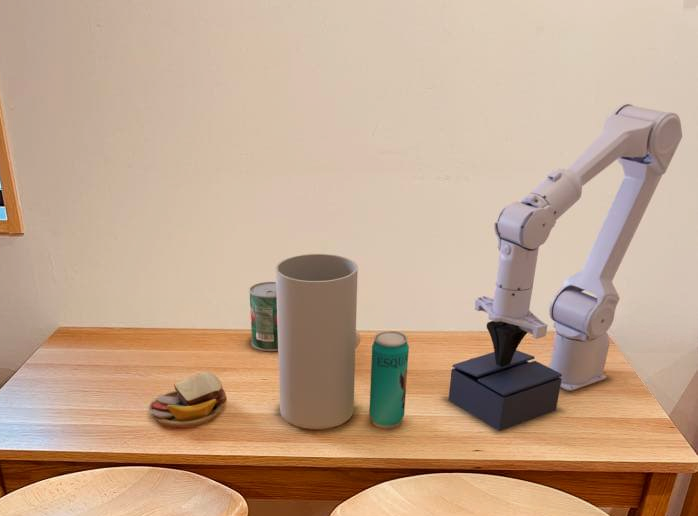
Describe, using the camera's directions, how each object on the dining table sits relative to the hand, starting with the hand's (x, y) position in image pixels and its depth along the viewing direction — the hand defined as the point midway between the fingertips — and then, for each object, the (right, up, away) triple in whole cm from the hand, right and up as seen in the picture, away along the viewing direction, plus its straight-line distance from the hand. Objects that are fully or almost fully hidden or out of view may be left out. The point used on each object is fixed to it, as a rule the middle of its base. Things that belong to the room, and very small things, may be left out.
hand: (502, 363), depth 141 cm
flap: (-1, +1, +2) cm, 2 cm away
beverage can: (-20, -10, 0) cm, 22 cm away
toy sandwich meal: (-53, -7, +4) cm, 54 cm away
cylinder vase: (-31, -8, +3) cm, 32 cm away
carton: (+1, -6, +4) cm, 7 cm away
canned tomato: (-39, +9, +26) cm, 48 cm away
